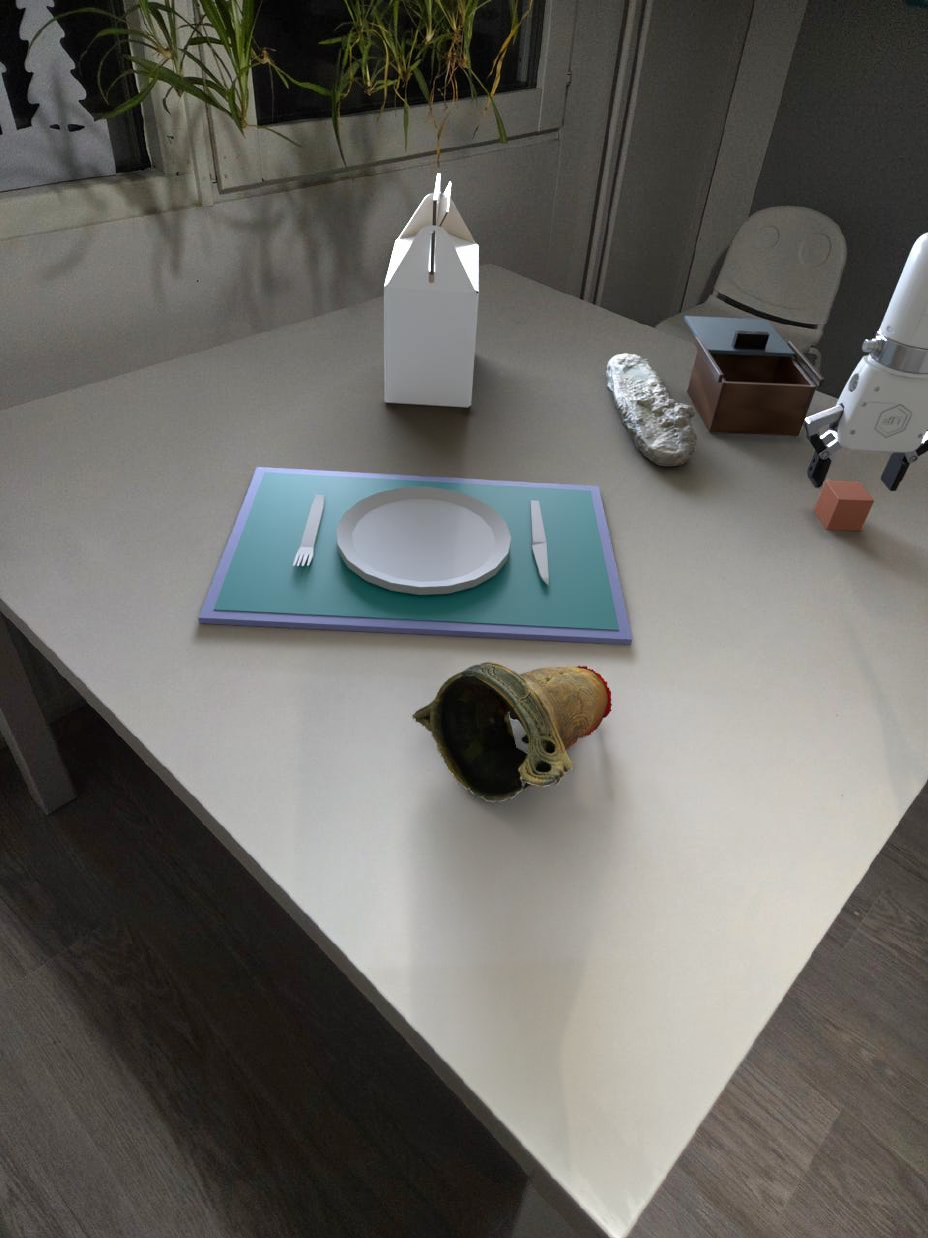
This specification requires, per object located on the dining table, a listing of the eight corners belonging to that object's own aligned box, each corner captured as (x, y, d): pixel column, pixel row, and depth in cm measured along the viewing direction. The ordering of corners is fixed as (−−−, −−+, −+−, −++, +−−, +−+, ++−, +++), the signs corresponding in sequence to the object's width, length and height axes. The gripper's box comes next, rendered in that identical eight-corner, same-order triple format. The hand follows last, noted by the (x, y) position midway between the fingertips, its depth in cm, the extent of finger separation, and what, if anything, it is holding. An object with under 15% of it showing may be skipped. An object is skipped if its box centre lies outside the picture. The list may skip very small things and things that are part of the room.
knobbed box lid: (765, 322, 138) (771, 304, 136) (794, 357, 127) (800, 338, 125) (684, 319, 137) (688, 300, 135) (705, 353, 127) (710, 334, 125)
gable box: (470, 409, 125) (484, 210, 107) (384, 403, 125) (383, 203, 107) (471, 350, 142) (483, 170, 124) (395, 345, 142) (396, 164, 124)
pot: (679, 667, 71) (548, 711, 58) (663, 788, 74) (535, 854, 61) (527, 624, 82) (390, 652, 70) (518, 729, 85) (385, 775, 73)
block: (847, 511, 109) (860, 481, 106) (860, 530, 106) (874, 500, 103) (813, 510, 109) (825, 480, 106) (826, 529, 106) (839, 499, 103)
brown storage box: (774, 395, 136) (792, 340, 130) (804, 436, 125) (824, 379, 119) (682, 391, 135) (695, 336, 129) (703, 432, 124) (719, 374, 118)
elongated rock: (649, 375, 142) (592, 376, 141) (653, 345, 139) (595, 346, 138) (709, 470, 114) (638, 472, 114) (716, 435, 111) (643, 436, 110)
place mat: (199, 623, 85) (196, 606, 83) (257, 471, 108) (255, 456, 107) (631, 644, 86) (635, 628, 85) (597, 491, 110) (600, 476, 108)
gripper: (846, 361, 89) (794, 496, 100) (997, 370, 91) (929, 502, 102) (821, 335, 95) (774, 465, 106) (964, 343, 96) (903, 471, 107)
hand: (850, 483), depth 104 cm, fingers open, 9 cm apart
